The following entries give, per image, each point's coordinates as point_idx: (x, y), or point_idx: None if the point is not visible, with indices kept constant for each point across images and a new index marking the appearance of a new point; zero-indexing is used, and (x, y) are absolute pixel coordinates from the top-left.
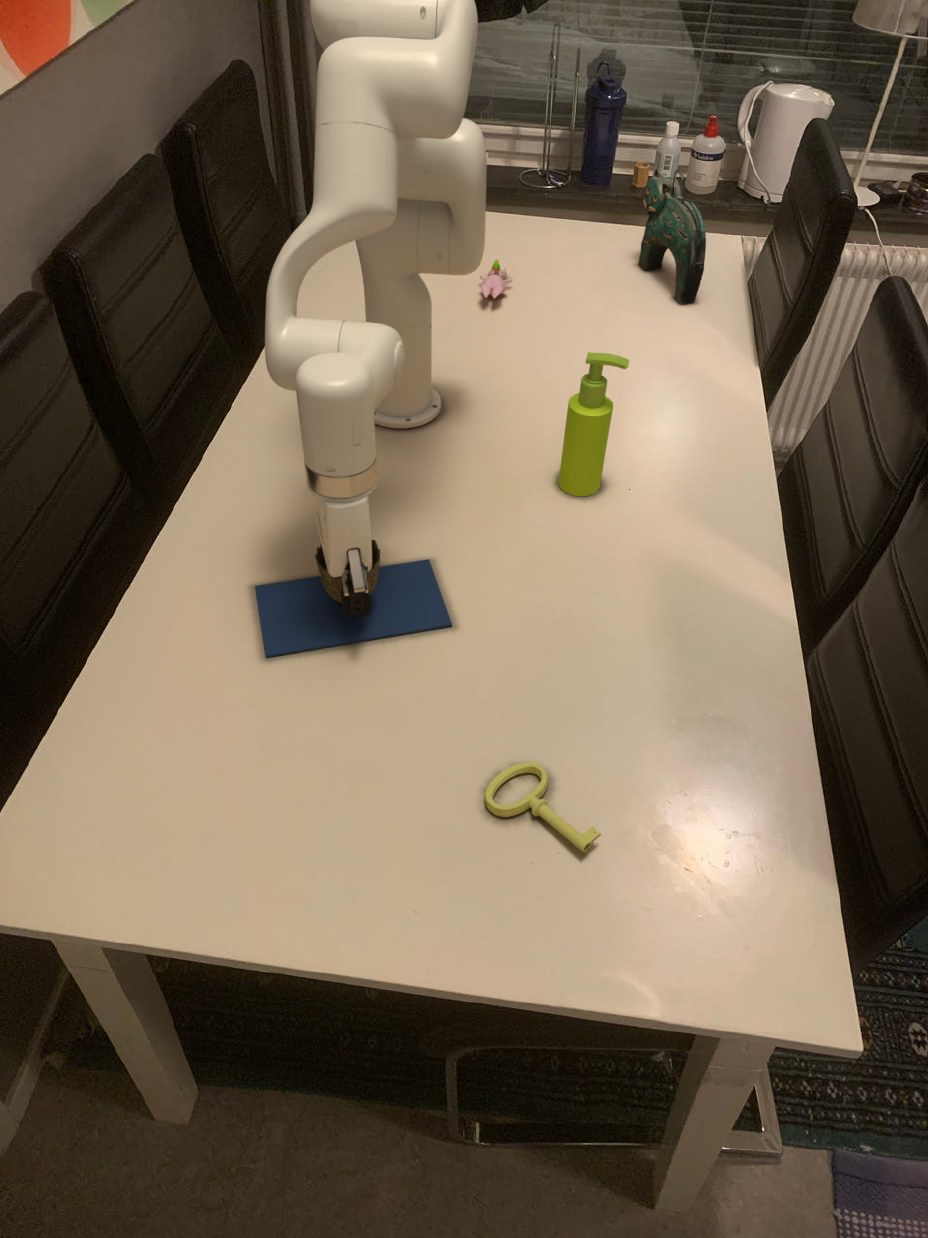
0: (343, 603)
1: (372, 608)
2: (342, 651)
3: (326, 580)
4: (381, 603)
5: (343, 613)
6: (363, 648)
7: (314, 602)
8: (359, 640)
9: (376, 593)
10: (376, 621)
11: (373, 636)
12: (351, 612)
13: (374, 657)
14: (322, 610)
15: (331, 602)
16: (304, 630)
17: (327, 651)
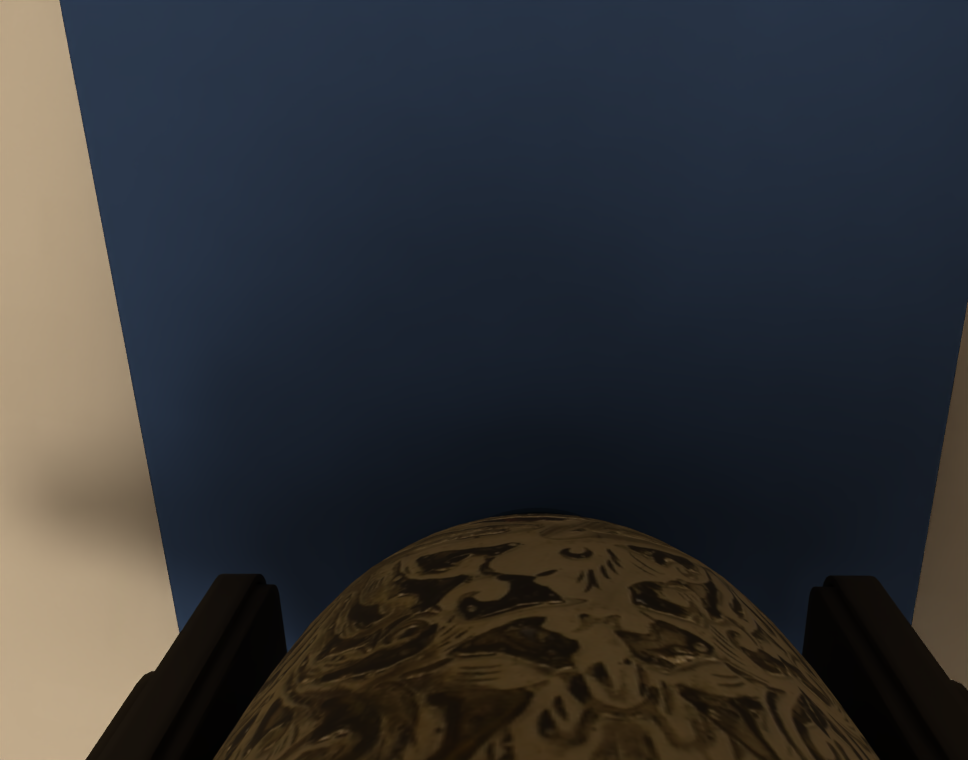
0: (148, 696)
1: None
2: (100, 435)
3: (281, 723)
4: None
5: (204, 598)
6: (122, 567)
7: (629, 313)
8: (168, 565)
9: None
10: None
11: None
12: (133, 692)
13: (40, 614)
14: (519, 364)
15: (595, 443)
16: (310, 189)
17: (104, 334)
